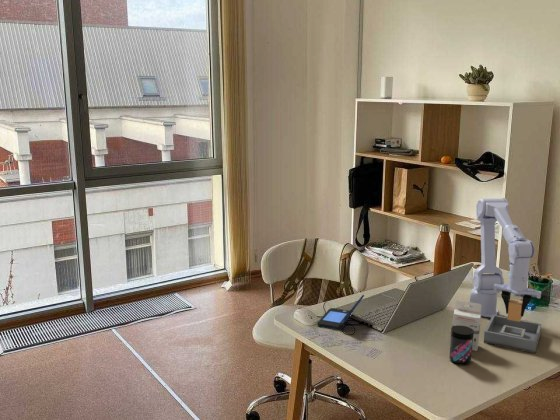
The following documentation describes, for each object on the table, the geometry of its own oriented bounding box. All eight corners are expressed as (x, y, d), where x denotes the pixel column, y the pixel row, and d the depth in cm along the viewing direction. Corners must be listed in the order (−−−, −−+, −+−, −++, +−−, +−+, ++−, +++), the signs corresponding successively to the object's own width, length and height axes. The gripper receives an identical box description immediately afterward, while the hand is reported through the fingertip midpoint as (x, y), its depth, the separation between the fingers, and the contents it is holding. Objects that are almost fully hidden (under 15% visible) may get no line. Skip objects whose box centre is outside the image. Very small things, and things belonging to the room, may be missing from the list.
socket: (500, 337, 191) (500, 332, 190) (503, 330, 197) (503, 324, 196) (522, 342, 188) (522, 337, 187) (524, 334, 193) (525, 329, 193)
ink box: (449, 346, 186) (453, 304, 183) (452, 340, 191) (455, 299, 187) (477, 351, 183) (480, 309, 180) (478, 345, 187) (482, 303, 184)
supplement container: (444, 360, 177) (447, 330, 175) (454, 353, 182) (457, 323, 179) (465, 368, 172) (468, 336, 170) (474, 360, 177) (477, 329, 175)
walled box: (483, 342, 189) (484, 331, 189) (491, 325, 203) (492, 314, 202) (535, 353, 182) (536, 342, 181) (540, 334, 195) (541, 323, 194)
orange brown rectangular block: (507, 319, 190) (508, 302, 189) (509, 315, 194) (510, 298, 192) (520, 321, 188) (521, 305, 187) (521, 317, 192) (523, 301, 190)
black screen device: (330, 311, 216) (330, 288, 214) (364, 316, 211) (365, 293, 209) (316, 326, 202) (316, 302, 200) (351, 333, 197) (352, 308, 195)
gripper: (493, 275, 188) (490, 313, 191) (541, 283, 181) (536, 322, 183) (497, 269, 194) (493, 306, 196) (543, 276, 186) (539, 315, 189)
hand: (514, 314), depth 190 cm, fingers closed on orange brown rectangular block, 4 cm apart
